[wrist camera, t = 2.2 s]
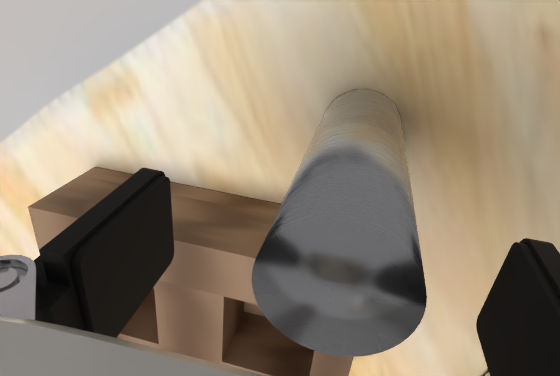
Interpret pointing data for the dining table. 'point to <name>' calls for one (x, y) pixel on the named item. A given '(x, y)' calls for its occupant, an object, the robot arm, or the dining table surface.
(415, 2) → the dining table surface
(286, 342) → the hole block
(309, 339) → the pin
